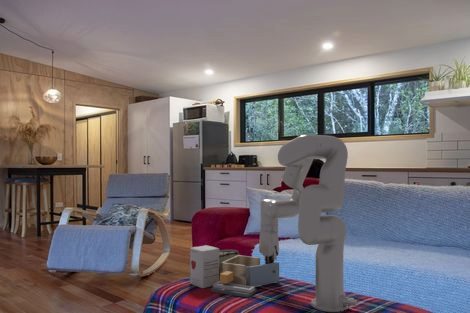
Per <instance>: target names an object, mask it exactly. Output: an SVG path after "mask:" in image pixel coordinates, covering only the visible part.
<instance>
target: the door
mask: <svg viewBox="0 0 470 313" xmlns="http://www.w3.org/2000/svg"><path fill="white" fill-rule="evenodd" d="M278 282H280V262H279V261H274V263H269V264H265V263H263V264H260V265H257V266H251V267H248V266H246V285H247V286H253V287H255V288H256V287H258V286H263V285H268V284H269V285H270V284H274V283H278Z"/></svg>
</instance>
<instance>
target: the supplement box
mask: <svg viewBox="0 0 470 313" xmlns="http://www.w3.org/2000/svg"><path fill="white" fill-rule="evenodd" d="M219 251H220V248H218V247H215V246H212V245H211V246H210V245H207V244H205V245H200V246H192V247H190V252H189V253H190V256H189V258H190V261H189V262H190V264H189V266H190V268H189V270H190V273H189V276H190V277H189V280H190V281H189V284H191V285H193V286H195V287H198V288H200V289H205V288H209V287H213V284H214V283H216V282H218V281H220V276H219Z"/></svg>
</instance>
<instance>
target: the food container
mask: <svg viewBox="0 0 470 313" xmlns="http://www.w3.org/2000/svg"><path fill="white" fill-rule="evenodd" d="M237 255H240V253H239V250H236V249H221V250H220V249H219V277H220V263H221V262H223V261H226V260H228V259H230V258H232V257H235V256H237Z"/></svg>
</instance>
